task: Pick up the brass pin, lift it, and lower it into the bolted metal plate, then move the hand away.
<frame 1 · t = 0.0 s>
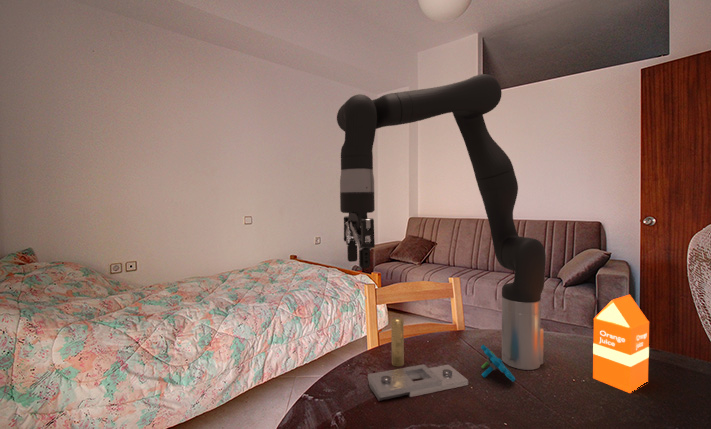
hand: (358, 264, 75), 29 cm above the table, tool pointing down, fingers open, 8 cm apart
bolted metal plate: (417, 384, 80), on the table
orange juice: (619, 381, 81), on the table
brass pin: (397, 363, 91), on the table
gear: (496, 377, 83), on the table
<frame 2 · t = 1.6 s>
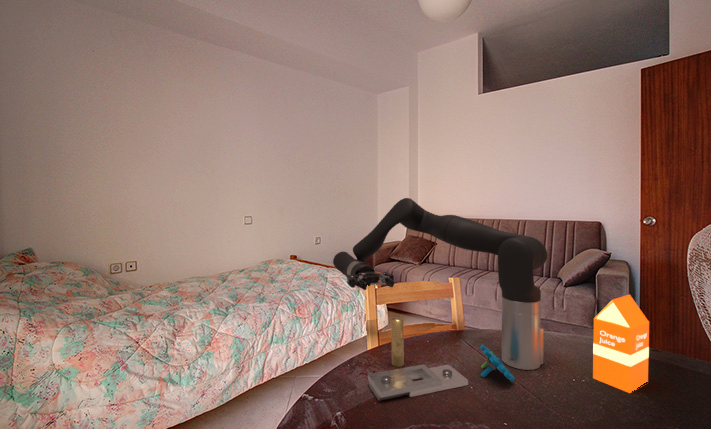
hand: (379, 285, 101), 18 cm above the table, tool horizontal, fingers open, 8 cm apart
nothing on the table moved.
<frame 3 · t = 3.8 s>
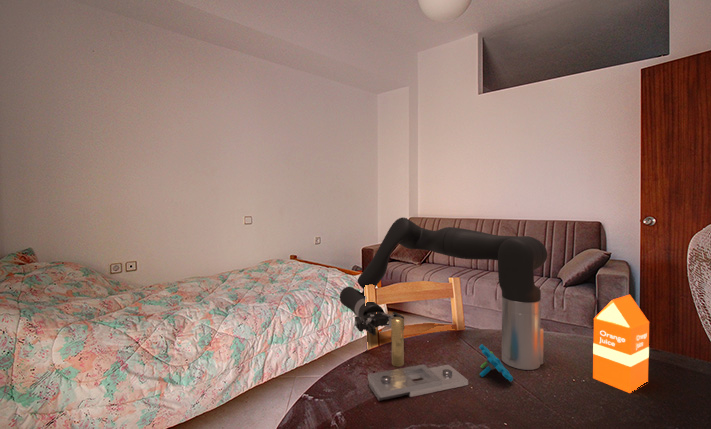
hand: (388, 329, 96), 7 cm above the table, tool horizontal, fingers open, 8 cm apart
nothing on the table moved.
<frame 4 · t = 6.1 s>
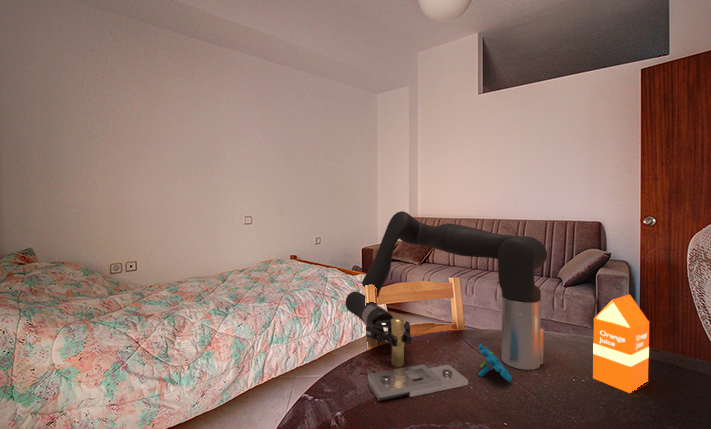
hand: (402, 341, 88), 7 cm above the table, tool horizontal, fingers closed on brass pin, 3 cm apart
brass pin: (397, 363, 91), on the table, touching gripper
everything else where it was.
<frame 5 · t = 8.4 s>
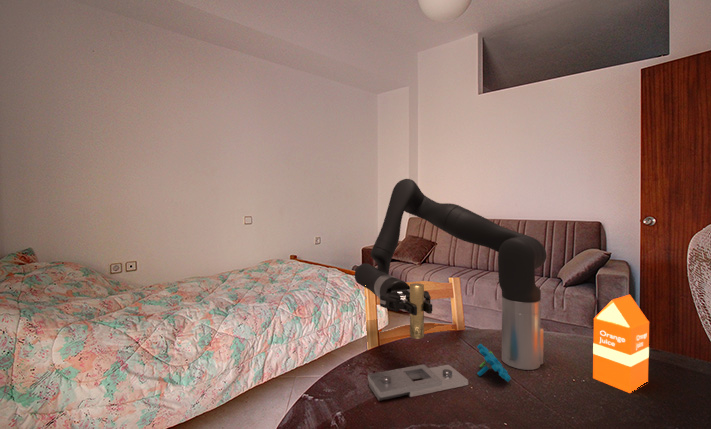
hand: (422, 310, 77), 19 cm above the table, tool horizontal, fingers closed on brass pin, 3 cm apart
brass pin: (416, 335, 80), point 12 cm above the table, touching gripper
everything else where it was.
when the fingers open (8 cm above the table, at t = 11.0 s): brass pin drops 1 cm, resting in bolted metal plate.
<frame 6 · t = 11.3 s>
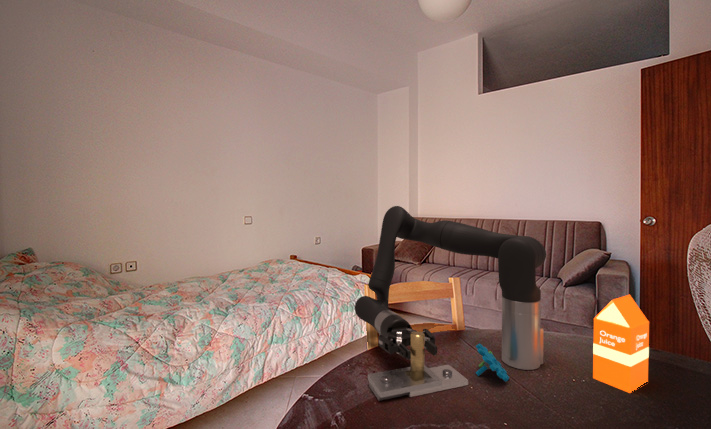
hand: (422, 353, 77), 8 cm above the table, tool horizontal, fingers open, 6 cm apart
brass pin: (417, 384, 80), resting in bolted metal plate
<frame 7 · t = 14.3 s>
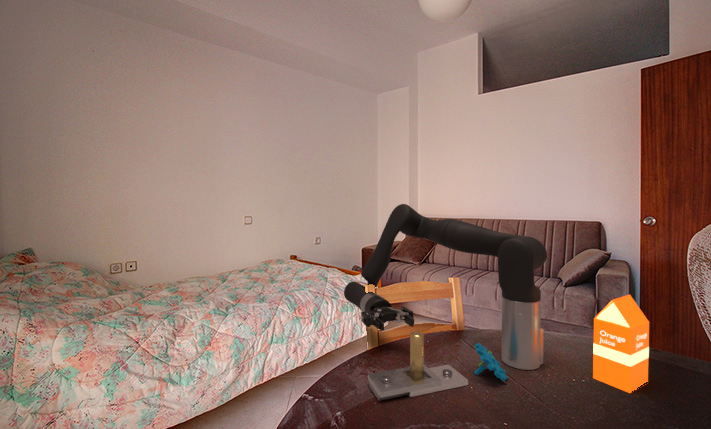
hand: (398, 324, 90), 10 cm above the table, tool horizontal, fingers open, 8 cm apart
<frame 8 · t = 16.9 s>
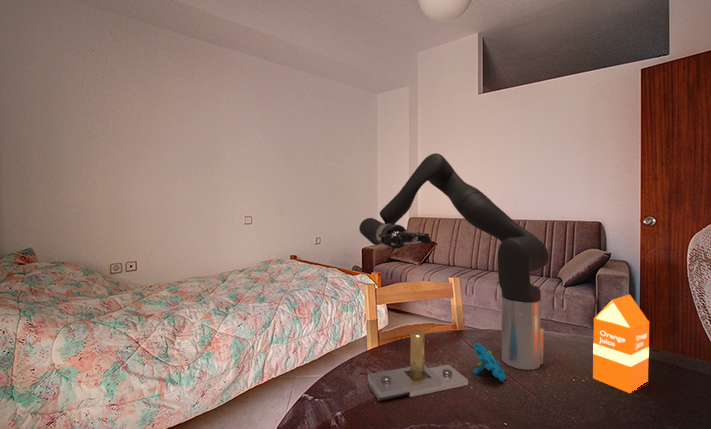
hand: (415, 241, 94), 32 cm above the table, tool horizontal, fingers open, 8 cm apart
at the end: brass pin 0.1 cm off-centre on the bolted metal plate, point 0.0 cm above the bolted metal plate's base; brass pin tilted 0°; the gripper is holding nothing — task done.
